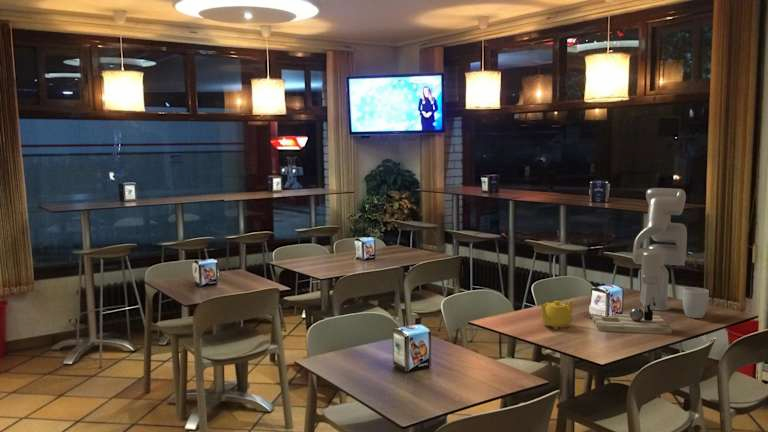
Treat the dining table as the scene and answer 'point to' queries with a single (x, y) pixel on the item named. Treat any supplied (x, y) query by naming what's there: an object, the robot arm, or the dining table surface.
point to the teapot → (557, 314)
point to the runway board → (630, 324)
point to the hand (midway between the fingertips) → (648, 320)
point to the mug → (695, 301)
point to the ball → (636, 314)
